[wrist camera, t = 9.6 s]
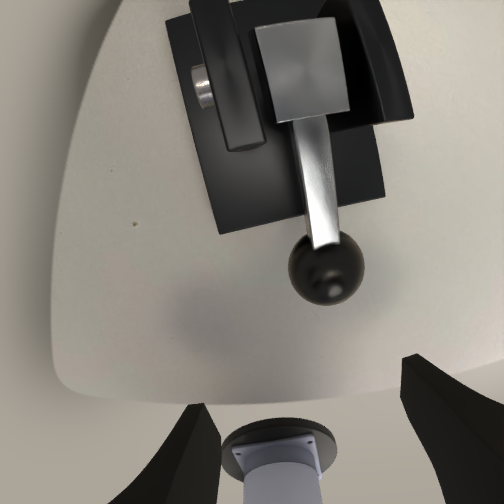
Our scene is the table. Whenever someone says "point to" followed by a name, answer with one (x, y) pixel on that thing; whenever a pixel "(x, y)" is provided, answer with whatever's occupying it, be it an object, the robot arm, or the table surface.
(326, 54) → the lever
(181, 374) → the table surface
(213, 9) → the bracket
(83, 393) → the table surface
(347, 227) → the table surface
